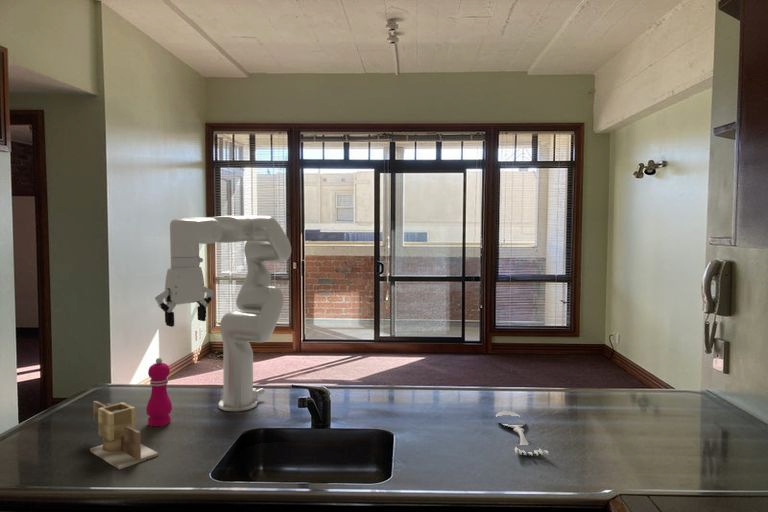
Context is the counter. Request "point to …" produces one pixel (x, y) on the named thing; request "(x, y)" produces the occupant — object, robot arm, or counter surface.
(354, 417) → the counter surface
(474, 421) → the counter surface
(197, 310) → the robot arm
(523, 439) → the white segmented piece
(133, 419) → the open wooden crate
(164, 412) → the pepper mill
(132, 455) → the hinge base
